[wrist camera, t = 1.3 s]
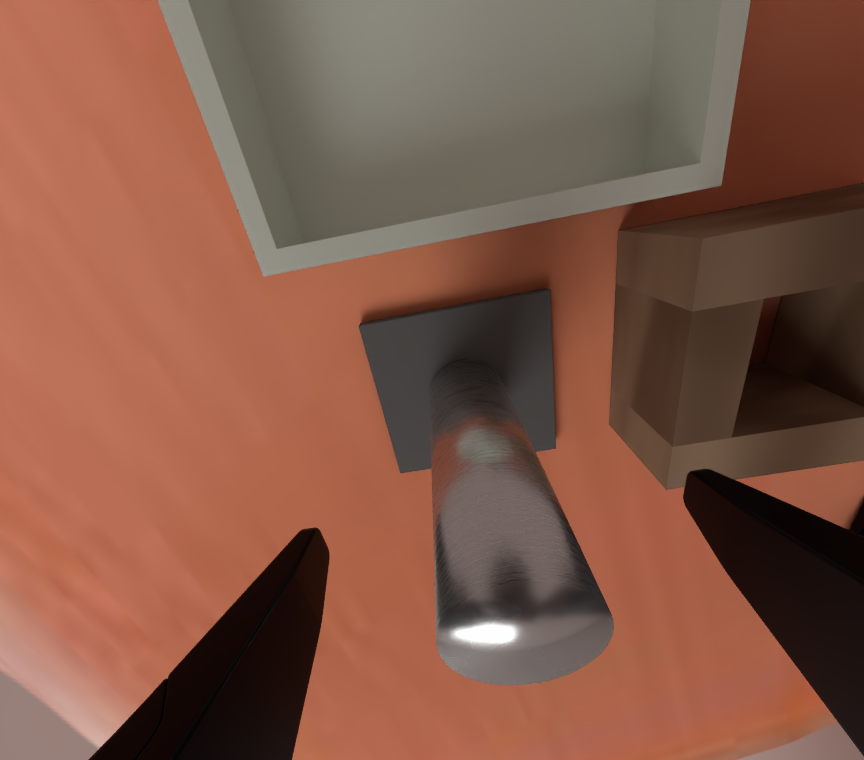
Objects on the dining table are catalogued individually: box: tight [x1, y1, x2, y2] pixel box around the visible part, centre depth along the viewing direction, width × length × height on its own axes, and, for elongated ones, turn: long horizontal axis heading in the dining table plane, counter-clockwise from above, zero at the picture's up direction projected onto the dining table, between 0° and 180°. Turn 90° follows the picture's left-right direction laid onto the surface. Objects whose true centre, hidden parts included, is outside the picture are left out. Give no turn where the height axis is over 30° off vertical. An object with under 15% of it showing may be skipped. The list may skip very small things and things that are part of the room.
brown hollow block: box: [609, 183, 864, 490], centre depth 12 cm, size 8×8×4 cm
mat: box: [359, 288, 556, 473], centre depth 14 cm, size 7×7×1 cm
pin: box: [429, 359, 614, 685], centre depth 10 cm, size 3×3×9 cm
